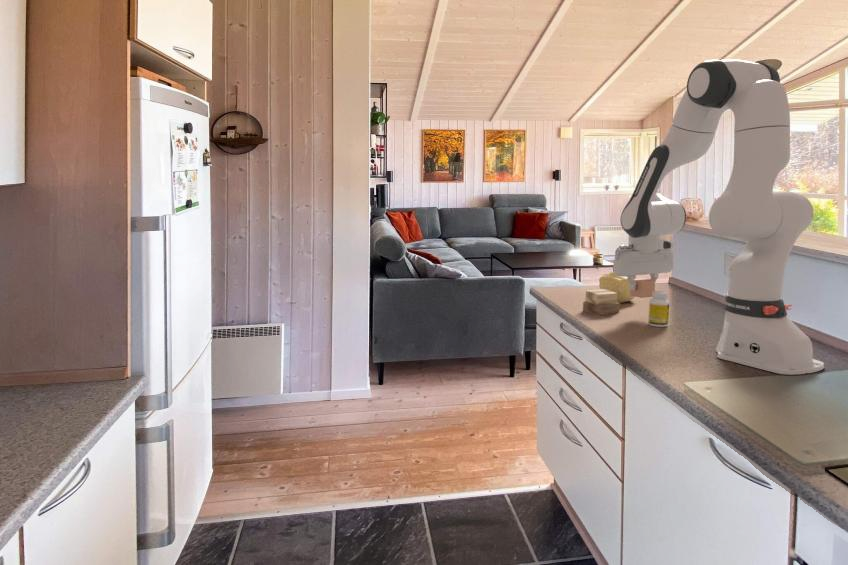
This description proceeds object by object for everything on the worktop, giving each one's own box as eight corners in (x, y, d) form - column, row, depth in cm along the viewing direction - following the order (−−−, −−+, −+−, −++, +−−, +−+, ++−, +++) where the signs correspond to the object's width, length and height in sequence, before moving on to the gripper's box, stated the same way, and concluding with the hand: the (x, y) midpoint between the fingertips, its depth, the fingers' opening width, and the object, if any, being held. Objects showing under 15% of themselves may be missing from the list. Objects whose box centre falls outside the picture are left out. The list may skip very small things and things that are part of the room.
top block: (616, 303, 182) (617, 293, 182) (597, 305, 180) (597, 294, 180) (604, 299, 189) (604, 289, 188) (585, 300, 187) (585, 290, 186)
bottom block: (619, 313, 184) (619, 302, 183) (602, 316, 180) (603, 306, 179) (599, 309, 191) (599, 298, 190) (582, 312, 186) (583, 301, 186)
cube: (654, 296, 174) (655, 280, 173) (641, 297, 172) (641, 281, 171) (642, 294, 178) (643, 278, 178) (629, 295, 177) (630, 279, 176)
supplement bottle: (669, 327, 164) (671, 294, 162) (649, 327, 165) (651, 293, 163) (665, 323, 169) (667, 290, 168) (646, 322, 170) (648, 290, 169)
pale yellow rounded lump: (593, 299, 204) (594, 270, 202) (619, 296, 208) (620, 267, 207) (616, 306, 193) (618, 274, 191) (643, 302, 198) (644, 271, 196)
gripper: (623, 246, 166) (621, 293, 168) (677, 242, 174) (675, 287, 176) (608, 244, 172) (607, 290, 174) (662, 241, 179) (660, 285, 181)
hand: (642, 288), depth 175 cm, fingers closed on cube, 5 cm apart
